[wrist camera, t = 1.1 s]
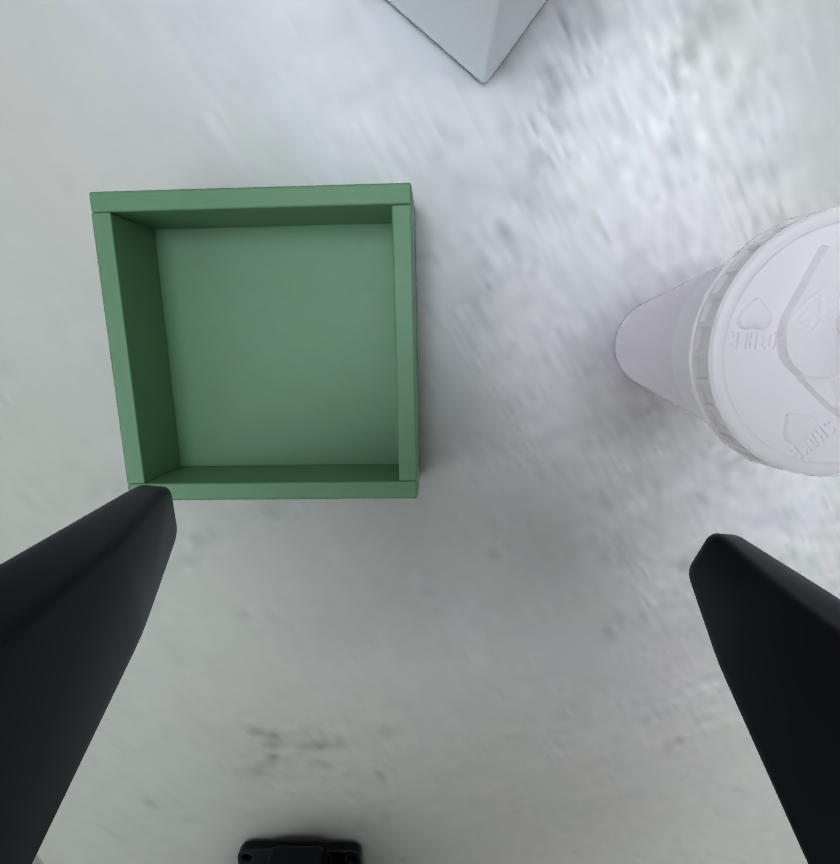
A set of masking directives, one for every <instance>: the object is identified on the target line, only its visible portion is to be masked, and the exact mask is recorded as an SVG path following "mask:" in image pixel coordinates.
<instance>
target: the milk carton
mask: <svg viewBox="0 0 840 864" xmlns="http://www.w3.org/2000/svg"><path fill="white" fill-rule="evenodd" d="M388 1H389V2H390V3H391V4H392V5H394V6H395V7H396V8H397V9H398V10H399V11H400V12H402V13H403V14H404V15H405V16H406V17H407V18H408V19H410V20H411V21H412V22H413V23H414V24H415V25H416V26H418V27H419V28H420V29H421V30H422V31H423V32H424V33H426V34H427V35H428V36H429V37H430V38H431V39H432V40H434V41H435V42H436V43H437V44H438V45H439V46H440V47H442V48H443V49H444V50H445V51H446V52H447V53H448V54H450V55H451V56H452V57H453V58H454V59H455V60H456V61H458V62H459V63H460V64H461V65H462V66H463V67H464V68H466V69H467V70H468V71H469V72H470V73H471V74H473V75H474V76H475V77H476V78H477V79H478V80H479V81H481V82H482V83H486V82H487V81H488V80H489V79H490V78H491V76H492V75H493V74H494V72H495V71H496V70H497V68H498V67H499V66H500V64H501V63H502V61H503V60H504V59H505V57H506V56H507V54H508V53H509V52H510V50H511V49H512V48H513V46H514V45H515V43H516V42H517V41H518V39H519V38H520V36H521V35H522V34H523V32H524V31H525V30H526V28H527V27H528V25H529V24H530V23H531V21H532V20H533V18H534V17H535V16H536V14H537V13H538V11H539V10H540V9H541V7H542V6H543V5H544V3H545V2H546V0H388Z"/></svg>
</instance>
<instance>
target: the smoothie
mask: <svg viewBox="0 0 840 864" xmlns="http://www.w3.org/2000/svg"><path fill="white" fill-rule="evenodd" d="M615 353H616V358H617V361H618V364H619V366H620V368H621V369H622V371H623V372H624V373H625V374H626V375H627V376H628V377H629V378H630V379H631V380H633V381H634V382H636V383H638V384H640V385H642V386H643V387H645V388H647V389H649V390H651V391H652V392H654V393H656V394H658V395H660V396H661V397H663V398H665V399H667V400H668V401H670V402H672V403H674V404H676V405H677V406H679V407H681V408H683V409H685V410H686V411H688V412H690V413H692V414H694V415H695V416H697V417H699V418H701V419H702V420H704V421H705V422H706V423H707V424H708V425H709V427H710V428H711V429H712V430H713V431H714V432H715V433H716V435H717V436H718V437H719V438H720V439H721V440H722V441H723V443H724V444H726V445H727V446H729V447H730V448H732V449H733V450H735V451H737V452H738V453H740V454H741V455H743V456H744V457H746V458H748V459H749V460H751V461H754V462H757V463H761V464H764V465H767V466H771V467H774V468H778V469H781V470H786V471H790V472H794V473H798V474H803V475H809V476H840V206H838V207H834V208H830V209H827V210H824V211H820V212H816V213H812V214H808V215H804V216H800V217H796V218H792V219H788V220H786V221H784V222H782V223H781V224H779V225H777V226H775V227H773V228H771V229H769V230H768V231H766V232H764V233H762V234H760V235H758V236H756V237H755V238H753V239H752V240H751V241H750V242H749V243H748V244H746V245H745V246H744V247H743V248H742V249H741V250H740V251H739V252H738V253H736V254H735V255H734V256H733V257H732V258H731V259H730V260H729V261H727V262H726V263H725V264H723V265H721V266H719V267H717V268H715V269H713V270H711V271H709V272H707V273H705V274H703V275H701V276H699V277H697V278H694V279H692V280H690V281H688V282H686V283H684V284H682V285H680V286H678V287H676V288H674V289H672V290H670V291H668V292H666V293H664V294H662V295H660V296H658V297H656V298H653V299H651V300H649V301H647V302H645V303H643V304H641V305H640V306H638V307H636V308H635V309H634V310H632V311H631V312H630V313H629V314H628V315H627V316H626V318H625V319H624V320H623V322H622V323H621V325H620V327H619V329H618V332H617V335H616V340H615Z"/></svg>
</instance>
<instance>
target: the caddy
mask: <svg viewBox="0 0 840 864" xmlns="http://www.w3.org/2000/svg"><path fill="white" fill-rule="evenodd" d="M89 195H90V202H91V210H92V212H93V213H92V220H93V228H94V235H95V243H96V250H97V258H98V265H99V273H100V280H101V288H102V295H103V303H104V310H105V318H106V325H107V332H108V340H109V347H110V355H111V362H112V370H113V377H114V385H115V392H116V400H117V407H118V415H119V422H120V430H121V437H122V445H123V452H124V460H125V467H126V475H127V482H128V483H130V484H129V485H128V487H129V491H130V490H131V489H133V488H135V487H137V486H140V485H151V486H163V487H166V488H168V489H169V490H170V492H171V495H172V500H223V499H340V498H416V497H417V495H418V486H419V477H420V459H419V406H418V353H417V300H416V248H415V207H414V201H413V194H412V187H411V184H410V183H391V184H356V185H321V186H287V187H252V188H217V189H182V190H147V191H112V192H91V193H90V194H89Z"/></svg>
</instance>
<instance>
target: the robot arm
mask: <svg viewBox="0 0 840 864" xmlns="http://www.w3.org/2000/svg"><path fill="white" fill-rule="evenodd" d="M176 532H177V526H176V519H175V513H174V507H173V500H172V495H171V492H170V490H169V489H168V488H166V487H163V486H151V485H140V486H137V487H135V488H133V489H131V490H130V491H128V492H126V493H124V494H123V495H121V496H119V497H117V498H116V499H114V500H112V501H110V502H109V503H107V504H105V505H103V506H102V507H100V508H98V509H96V510H95V511H93V512H91V513H89V514H88V515H86V516H84V517H82V518H81V519H79V520H77V521H75V522H74V523H72V524H70V525H68V526H67V527H65V528H63V529H62V530H60V531H58V532H56V533H55V534H53V535H51V536H49V537H48V538H46V539H44V540H42V541H41V542H39V543H37V544H35V545H34V546H32V547H30V548H28V549H27V550H25V551H23V552H21V553H20V554H18V555H16V556H14V557H13V558H11V559H9V560H7V561H6V562H4V563H2V564H0V864H32V862H33V860H34V858H35V856H36V854H37V852H38V850H39V848H40V846H41V844H42V842H43V840H44V837H45V835H46V833H47V831H48V829H49V827H50V825H51V823H52V821H53V819H54V817H55V815H56V813H57V810H58V808H59V806H60V804H61V802H62V800H63V798H64V796H65V794H66V792H67V790H68V788H69V786H70V783H71V781H72V779H73V777H74V775H75V773H76V771H77V769H78V767H79V765H80V763H81V761H82V759H83V756H84V754H85V752H86V750H87V748H88V746H89V744H90V742H91V740H92V738H93V736H94V734H95V732H96V729H97V727H98V725H99V723H100V721H101V719H102V717H103V715H104V713H105V711H106V709H107V707H108V705H109V702H110V700H111V698H112V696H113V694H114V692H115V690H116V688H117V686H118V684H119V682H120V680H121V678H122V675H123V673H124V671H125V669H126V667H127V665H128V663H129V661H130V659H131V657H132V655H133V653H134V651H135V648H136V646H137V644H138V642H139V639H140V637H141V635H142V633H143V630H144V628H145V625H146V622H147V620H148V617H149V614H150V611H151V608H152V605H153V603H154V600H155V597H156V594H157V591H158V588H159V585H160V582H161V580H162V577H163V574H164V571H165V568H166V565H167V562H168V560H169V557H170V554H171V551H172V548H173V545H174V542H175V538H176ZM689 577H690V582H691V584H692V587H693V590H694V593H695V596H696V599H697V602H698V605H699V608H700V611H701V614H702V617H703V620H704V623H705V626H706V628H707V631H708V634H709V637H710V640H711V643H712V646H713V649H714V652H715V654H716V657H717V660H718V663H719V665H720V667H721V670H722V672H723V675H724V677H725V679H726V681H727V684H728V686H729V688H730V690H731V693H732V695H733V697H734V699H735V702H736V704H737V706H738V708H739V710H740V713H741V715H742V717H743V719H744V722H745V724H746V726H747V728H748V731H749V733H750V735H751V737H752V740H753V742H754V744H755V746H756V748H757V751H758V753H759V755H760V757H761V760H762V762H763V764H764V766H765V769H766V771H767V773H768V775H769V777H770V780H771V782H772V784H773V786H774V789H775V791H776V793H777V795H778V798H779V800H780V802H781V804H782V807H783V809H784V811H785V813H786V815H787V818H788V820H789V822H790V824H791V827H792V829H793V831H794V833H795V836H796V838H797V840H798V842H799V844H800V847H801V849H802V851H803V853H804V856H805V858H806V860H807V862H808V864H840V599H839V598H837V597H835V596H834V595H832V594H831V593H829V592H827V591H826V590H824V589H823V588H821V587H819V586H818V585H816V584H815V583H813V582H811V581H810V580H808V579H807V578H805V577H804V576H802V575H800V574H799V573H797V572H796V571H794V570H792V569H791V568H789V567H788V566H786V565H784V564H783V563H781V562H780V561H778V560H776V559H775V558H773V557H772V556H770V555H768V554H767V553H765V552H764V551H762V550H760V549H759V548H757V547H756V546H754V545H752V544H751V543H749V542H748V541H746V540H745V539H743V538H741V537H739V536H736V535H730V534H718V533H717V534H712V535H711V536H709V537H708V538H707V539H706V541H705V543H704V544H703V546H702V547H701V549H700V551H699V552H698V554H697V555H696V557H695V559H694V560H693V562H692V564H691V566H690V569H689ZM238 863H239V864H362V850H361V848H360V847H359V846H358V845H357V844H353V843H288V842H246V843H244V844H243V845H242V846H241V849H240V851H239V854H238Z"/></svg>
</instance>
